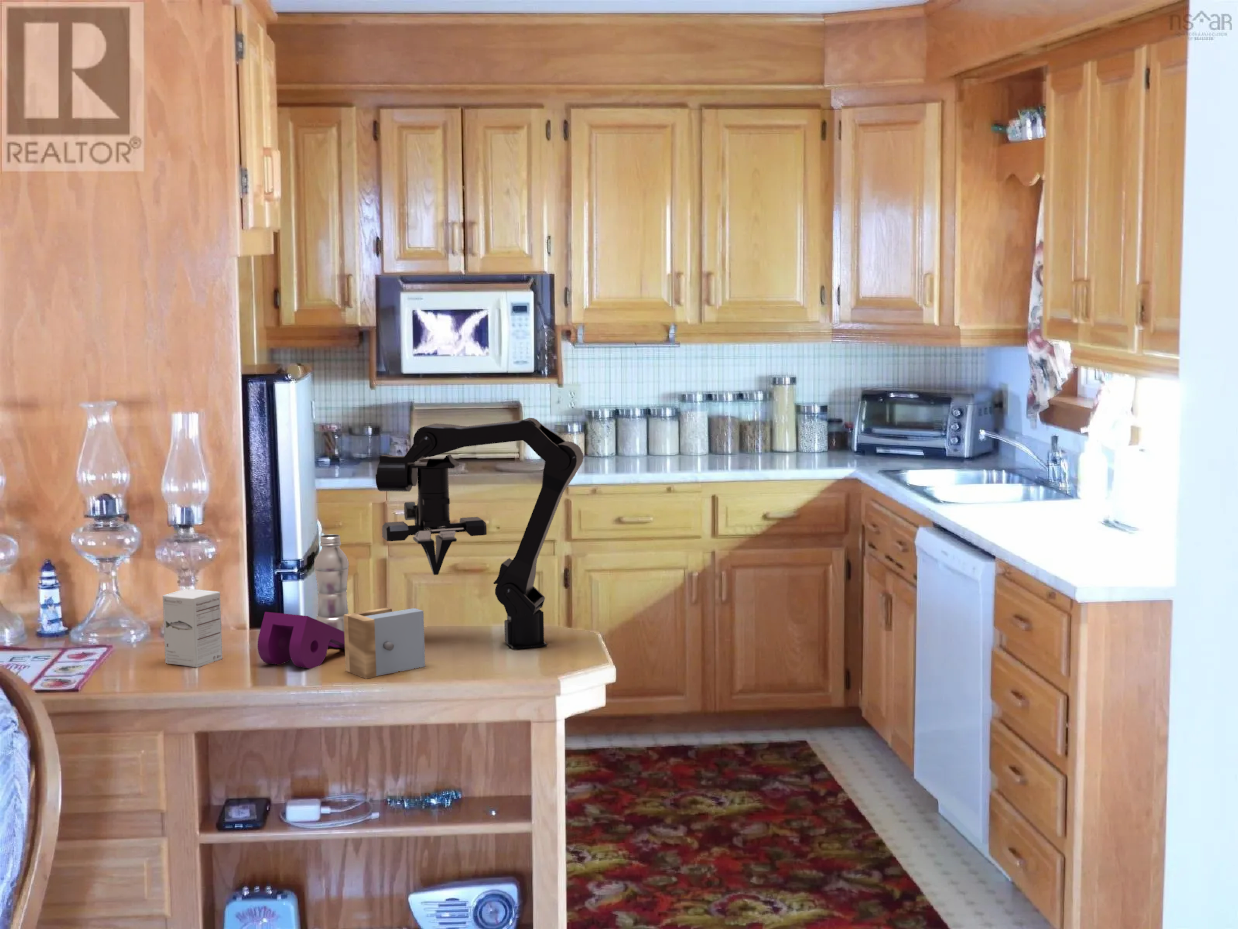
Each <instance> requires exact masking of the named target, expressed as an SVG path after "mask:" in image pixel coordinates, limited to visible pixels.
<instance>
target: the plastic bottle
mask: <svg viewBox="0 0 1238 929" xmlns="http://www.w3.org/2000/svg"><path fill="white" fill-rule="evenodd" d="M319 544H320V547H321V550H320V551H319V553H318V554H317V556H316V558H315V560H314V563H313V565H314V568H313V569H314V572H315V580H316V584H317V585H316V586H317V588H316V589H317V592H318V593H317V596H318V597H317V612H316V614H317V616H316V620H318V621H320V622H323V623H325V624H327V625H330V626H332V627H334V628H337V629H339V630H341V631H344V614H349V607H348V606H349V605H348V592H347V590H348V576H349V567H350V562H349V560H348V556H347V554H346V553H345V552H344V551H343V549H342V548H341V546H342V542H341V535H340V534H322V535H320V543H319Z"/></svg>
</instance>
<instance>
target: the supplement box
mask: <svg viewBox="0 0 1238 929" xmlns="http://www.w3.org/2000/svg"><path fill="white" fill-rule="evenodd" d="M221 609H222V608H221V591H215V590H208V589H207V590H205V589H197V588H186V589H185V588H184V589H181V590H177V591H174V592H170V593H167V594H163V595H162V610H163V614H162V615H163V636H164V657H165V658H164V661H165V664H166V663H167V664H168V665H169V664H172V665H179V666H186V667H193V668H199V667H200V668H201V667H202V666H206V665H208V664H212V663H215V662H217V661H221V660H223V639H222V638H223V637H222V617H221V616H222V611H221ZM214 661H215V662H214ZM167 664H166V665H167Z"/></svg>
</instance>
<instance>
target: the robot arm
mask: <svg viewBox="0 0 1238 929" xmlns="http://www.w3.org/2000/svg"><path fill="white" fill-rule="evenodd" d="M412 439H413V440H412V444H411V446H410V448H409V450H408V451H407V452H406V454H405V455H391V454H382V455H380V456H379V463H378V465H377V468H376V473H375V484H376V488H377V491H378V492H402V493H403V492H410V491H411V490H412V489H413V487H415V486H416V485H417V504H416V502H414V501H408V502H404V503H403V509H404V510H403V513H404V514H403V515H404V520H405V521H412V520H413V521H414V524H412V525H408V524H407V523H406V522H405V521H387V522H384V523H383V525H382V526H381V527H382V528H381V530H382V533H381V534H382V538H383V539H384V540H385V541H387V542H401V541H402V542H403V541H406V540H407V539H408V537H409V536H412V539H413V542H416V543H417V544H418V545H421V548H422V549H423V551H424V554H425V555H426V558H427V561H428V563H429V566H430V569H431V571H432V572H431V573H432V574H433V576H437V575H439V574H440V571H441V568H442V565H443V562H444V559H445V557H446V554H447V553H448V550H449V548H450V547H451V545H452V544H453V543H455V542H457V541H458V540H457V539H458V538H456V537H455V536H456V533H466V534H468V535H469V536H470V537H476V536H477V537H478V536H479V537H480V536H485V535H487V523H486V521H484V519H482V518H480V517H478V516H471V517H470V516H469V517H468V516H466V517H459V522H451V520H450V503H451V502H450V492H449V490H450V487H449V486H450V485H449V483H450V482H449V469H455V468H457V467H459V466H460V463H459V462H458V461H457V459H454V458H453V455H451V454H447V455H446V456H445V457H444V458H431V457H435V456H439V455H441V454H442V455H443V454H446V453H448V452H451V451H454V450H455V451H456V450H459V449H462V448H465V447H467V448H468V447H473V446H474V447H475V446H483V445H484V446H485V445H492V444H493V445H494V444H502V443H512V442H519V441H520V442H521V441H522V442H524V443H525V444H527V445H528V446H529V447H530V449H532V451H533V452H534V453H535V454H536V455H537V456H538V457H539V458H541V459H542V460H543V461H544V464H543V465H544V466H543V469H542V470H543V472H542V481H541V482H542V483H541V489H540V491H539V494H538V497H537V499H536V500H535V501H536V503H535V504H534V506H533V509H532V511H531V515H530V517H529V519H528V522H527V525H526V528H525V530H524V531H523V535H522V538H521V541H520V543H519V546H518V549H517V551H516V553H515V556H514V557H513V559H511V557H509V558H507V559H506V560H505V561H503V562H502V563H500V567H499V572H498V576H497V578H496V580H494V582H493V584H494V585H495V590H494V596H495V597H496V599H497V601H498V602H499V603H500V604H501V605H503V607H504V610H505V612H506V619H505V620H504V621H503V623H504V627H503V628H504V643H506V644H507V645H508V646H509V647H510V648H511V649H513V650H519V649H530V648H542V647H547V646H548V643H547V642H546V641H545V627H544V623H545V622H544V620H545V619H544V617H545V616H544V615H545V614H544V611H542V610H541V608H543V606H544V603H545V599H546V597H545V596H544V595H543V594H542V592H540V591H539V590H538V589H537V588H536V587H535V586H534V585H535V580H536V575H537V574H536V573H537V562H538V558H539V555H540V553H541V550H542V548H543V545H544V543H545V540H546V537H547V535H548V532H549V530H550V527H551V525H552V521H553V520H554V516H555V515H556V511H557V509H558V507H559V504H560V503H561V502H560V501H561V499H562V497H563V494H564V492H565V490H566V489H567V488H568V486H569V485H570V483H571V482H572V480H573V479H574V477H575V476H576V474H577V473H578V471H579V469H580V467H582V464H583V462H584V453H583V451H582V449H581V447H580V446H579V445H578V444H577V443H575V442H572V441H567V440H564V439H563V437H561V436H560V435H558V434H557V433H555V432H553V431H552V430H551V429H549V428H548V427H546V426H545V425H543V424H542V423H541V421H539V420H538V419H537V418H534V417H526V418H525V419H521V420H520V419H518V420H511V421H502V422H501V421H499V422H494V423H493V422H492V423H483V424H475V425H459V424H458V425H457V424H450V423H449V424H448V423H432V424H429V425H425V426H421V427H419V428H418V429H417V430H416V431H415V433H414V435H413V438H412ZM426 458H429V459H428V460H427V462H426V463H416V462H419V461H421V460H424V459H426ZM435 534H437V535H435ZM432 535H435V540H434V539H433V538H432Z"/></svg>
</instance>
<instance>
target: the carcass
mask: <svg viewBox="0 0 1238 929" xmlns="http://www.w3.org/2000/svg"><path fill="white" fill-rule="evenodd" d="M388 612H393V608H390V607H383V608H376V609H369V610H363V611H358V612H352V613H351V612H349V613H348V614H344V637H345V649H344V657H345V658H344V659H345V660H344V661H345V662H344V663H345V664H344V665H345V666H344V667H345V672H348V673H350V674H353V675H355V676H357V677H360V678H363V679H365V680H367V679H373V678H376V677H377V676H376V652H375V622H374V619H371V618H368V617H365V616H369V615H376V614H382V613H388Z"/></svg>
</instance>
